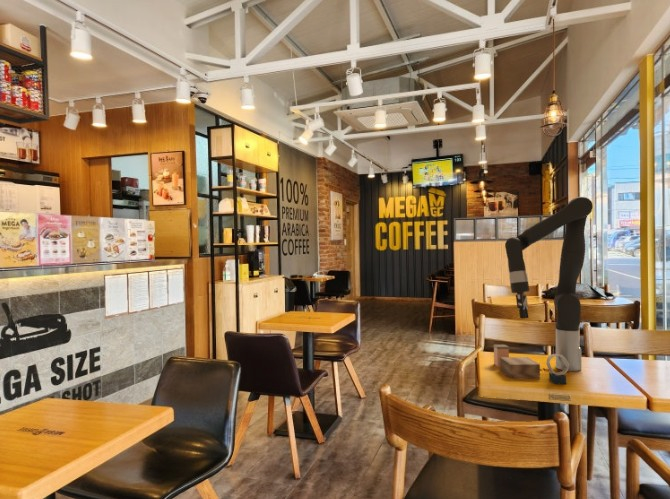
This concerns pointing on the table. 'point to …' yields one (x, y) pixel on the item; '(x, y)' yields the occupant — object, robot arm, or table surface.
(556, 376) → the watch
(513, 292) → the robot arm
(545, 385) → the table surface
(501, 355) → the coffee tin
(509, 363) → the walnut block
